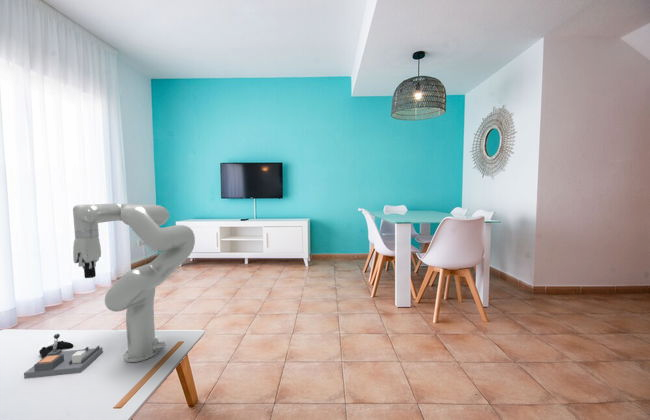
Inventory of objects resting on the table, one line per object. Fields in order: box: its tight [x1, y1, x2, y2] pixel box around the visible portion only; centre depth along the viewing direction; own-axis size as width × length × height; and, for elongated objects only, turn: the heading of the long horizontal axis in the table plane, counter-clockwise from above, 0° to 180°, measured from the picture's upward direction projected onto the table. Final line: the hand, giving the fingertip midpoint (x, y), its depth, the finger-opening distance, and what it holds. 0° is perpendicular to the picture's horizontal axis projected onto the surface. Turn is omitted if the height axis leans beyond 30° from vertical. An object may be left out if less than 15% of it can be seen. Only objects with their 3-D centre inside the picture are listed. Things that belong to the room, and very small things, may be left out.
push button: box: [38, 355, 59, 364], centre depth 103 cm, size 4×4×2 cm
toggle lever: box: [53, 333, 61, 351], centre depth 111 cm, size 2×2×6 cm
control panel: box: [23, 345, 104, 379], centre depth 107 cm, size 18×13×5 cm
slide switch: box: [72, 350, 86, 363], centre depth 106 cm, size 3×3×3 cm
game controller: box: [38, 340, 74, 359], centre depth 116 cm, size 10×5×7 cm
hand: (90, 277), depth 116 cm, fingers closed
